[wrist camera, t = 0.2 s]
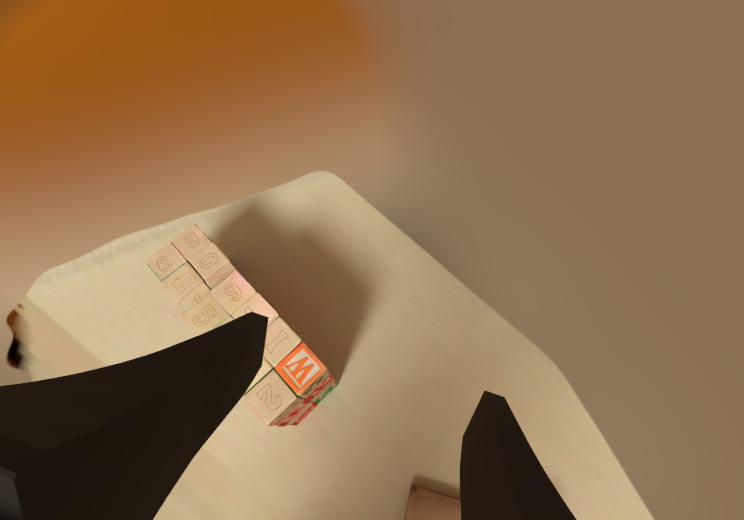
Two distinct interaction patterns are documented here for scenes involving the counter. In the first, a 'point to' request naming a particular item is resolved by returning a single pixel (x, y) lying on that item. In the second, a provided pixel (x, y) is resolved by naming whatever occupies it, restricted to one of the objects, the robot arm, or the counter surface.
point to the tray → (431, 505)
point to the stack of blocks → (232, 300)
